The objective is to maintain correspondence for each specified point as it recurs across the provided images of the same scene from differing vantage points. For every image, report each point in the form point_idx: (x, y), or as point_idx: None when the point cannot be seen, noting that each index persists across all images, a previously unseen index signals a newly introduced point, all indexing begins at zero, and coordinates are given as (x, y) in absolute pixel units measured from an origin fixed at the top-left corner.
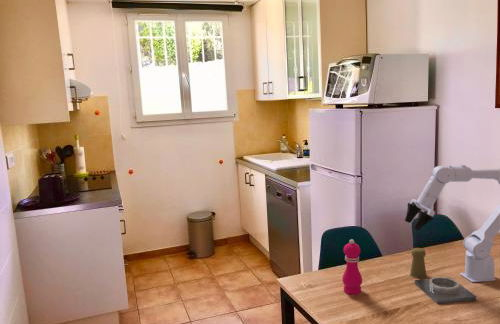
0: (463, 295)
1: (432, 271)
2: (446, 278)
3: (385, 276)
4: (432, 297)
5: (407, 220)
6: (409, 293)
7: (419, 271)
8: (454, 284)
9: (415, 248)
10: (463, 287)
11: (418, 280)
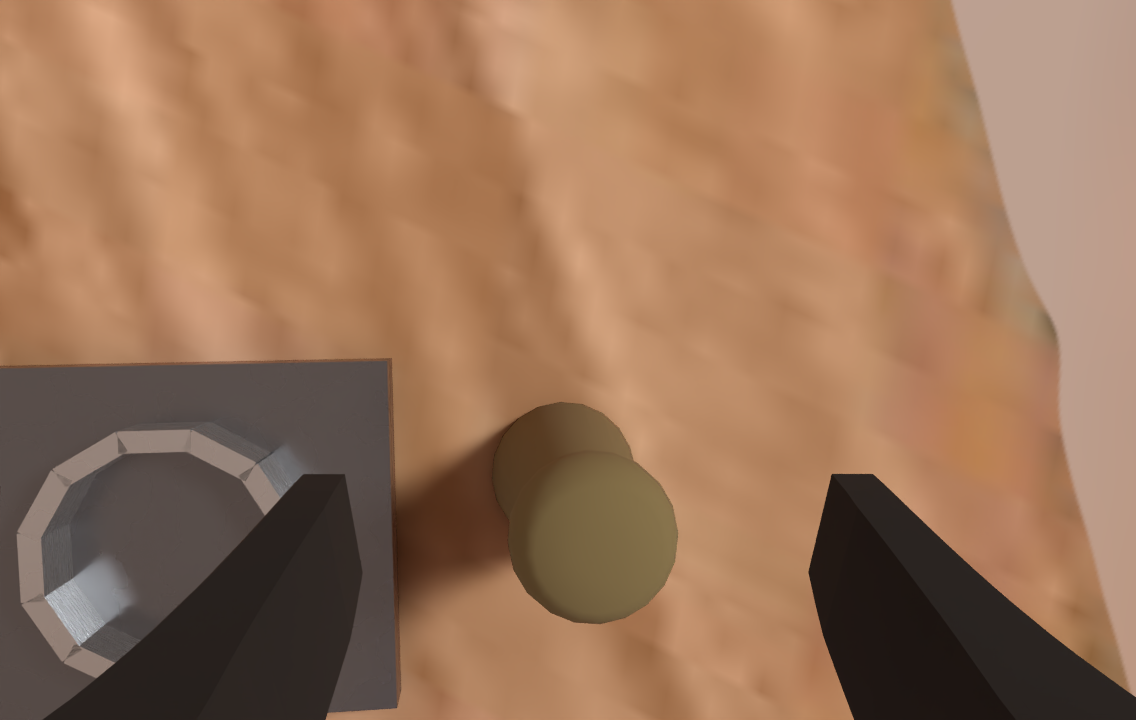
0: (1, 636)
1: (622, 637)
2: None
3: (587, 161)
4: (45, 366)
5: (837, 532)
6: (202, 222)
7: (503, 468)
8: None
9: (626, 521)
10: None
11: (370, 390)
